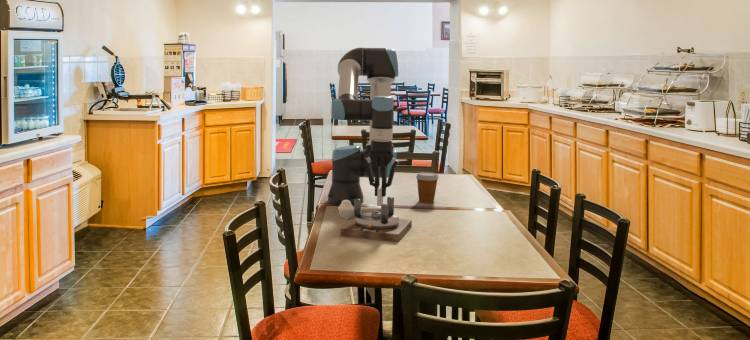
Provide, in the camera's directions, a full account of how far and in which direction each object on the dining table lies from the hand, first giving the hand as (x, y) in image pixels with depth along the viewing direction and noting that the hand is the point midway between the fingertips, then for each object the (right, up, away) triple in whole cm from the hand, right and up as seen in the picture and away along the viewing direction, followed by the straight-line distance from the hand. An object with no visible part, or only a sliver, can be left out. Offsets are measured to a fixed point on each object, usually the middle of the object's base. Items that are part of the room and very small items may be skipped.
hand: (380, 205), depth 215 cm
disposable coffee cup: (+20, -1, +40) cm, 45 cm away
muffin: (-13, -5, +9) cm, 16 cm away
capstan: (-1, -6, -9) cm, 11 cm away
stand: (-1, -9, -9) cm, 12 cm away
